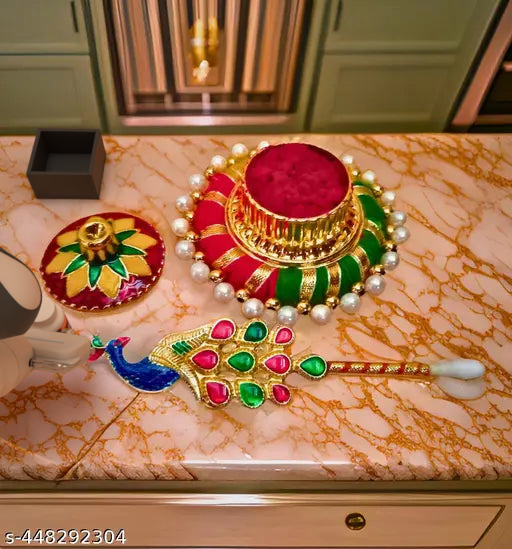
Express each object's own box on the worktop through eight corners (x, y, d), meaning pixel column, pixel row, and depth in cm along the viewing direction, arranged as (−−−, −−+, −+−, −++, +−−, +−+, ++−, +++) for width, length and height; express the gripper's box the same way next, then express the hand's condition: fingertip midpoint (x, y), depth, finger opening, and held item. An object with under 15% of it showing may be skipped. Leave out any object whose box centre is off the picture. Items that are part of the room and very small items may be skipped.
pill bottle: (79, 348, 100) (63, 318, 90) (43, 361, 98) (23, 332, 89) (70, 319, 103) (54, 287, 93) (35, 331, 101) (16, 299, 92)
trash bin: (36, 198, 117) (25, 174, 111) (47, 153, 124) (37, 127, 118) (99, 199, 118) (91, 175, 111) (106, 154, 124) (100, 128, 118)
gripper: (73, 348, 78) (105, 318, 92) (-74, 328, 79) (-20, 302, 92) (70, 391, 80) (103, 356, 93) (-73, 370, 80) (-21, 339, 94)
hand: (41, 329), depth 93 cm, fingers open, 8 cm apart
